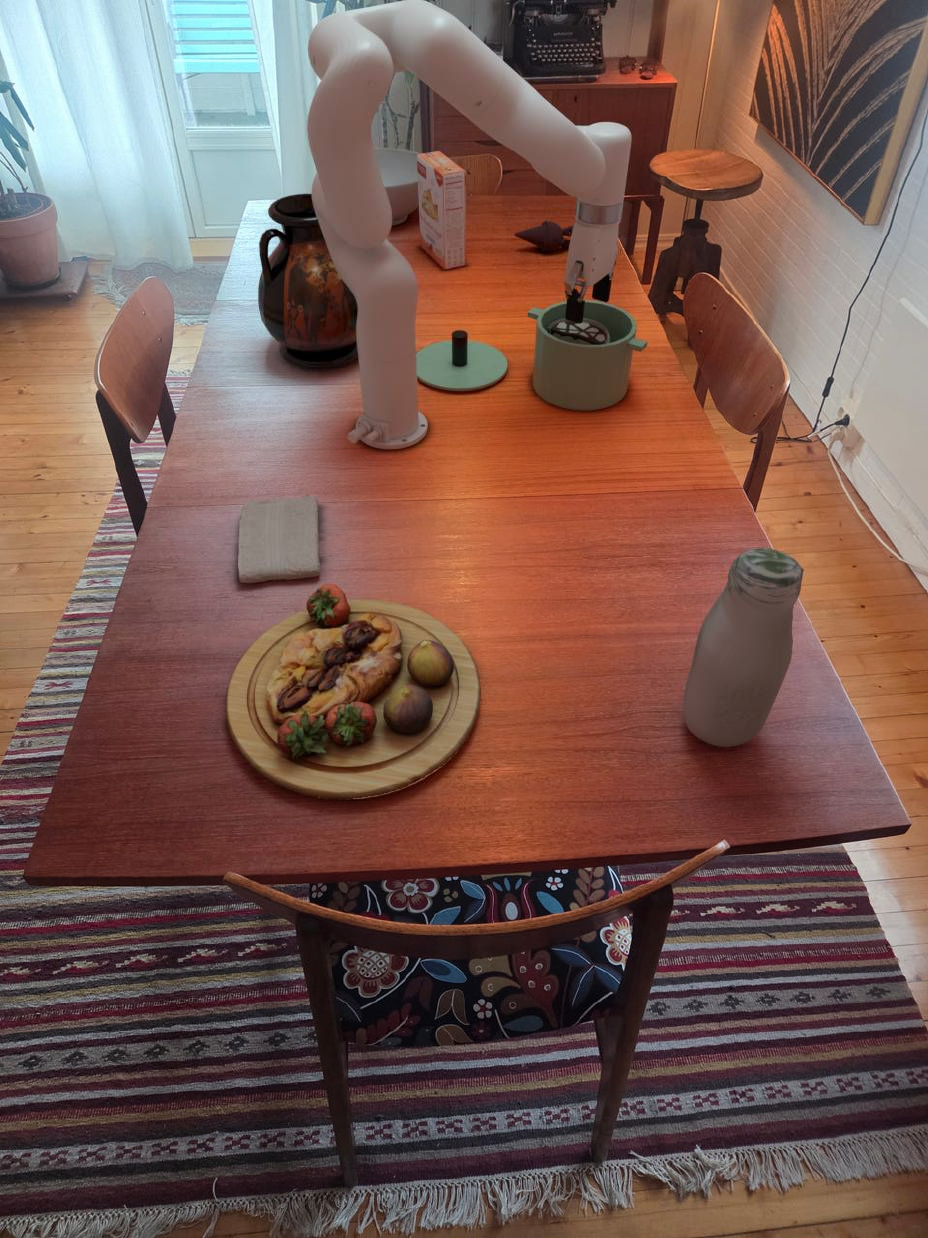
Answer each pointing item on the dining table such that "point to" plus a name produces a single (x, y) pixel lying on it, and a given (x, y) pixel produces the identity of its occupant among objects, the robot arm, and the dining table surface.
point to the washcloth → (279, 540)
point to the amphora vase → (305, 291)
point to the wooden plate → (352, 697)
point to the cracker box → (442, 209)
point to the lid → (460, 364)
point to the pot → (584, 359)
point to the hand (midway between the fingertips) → (587, 310)
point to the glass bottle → (743, 649)
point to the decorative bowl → (399, 180)
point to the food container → (580, 332)
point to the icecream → (547, 236)
